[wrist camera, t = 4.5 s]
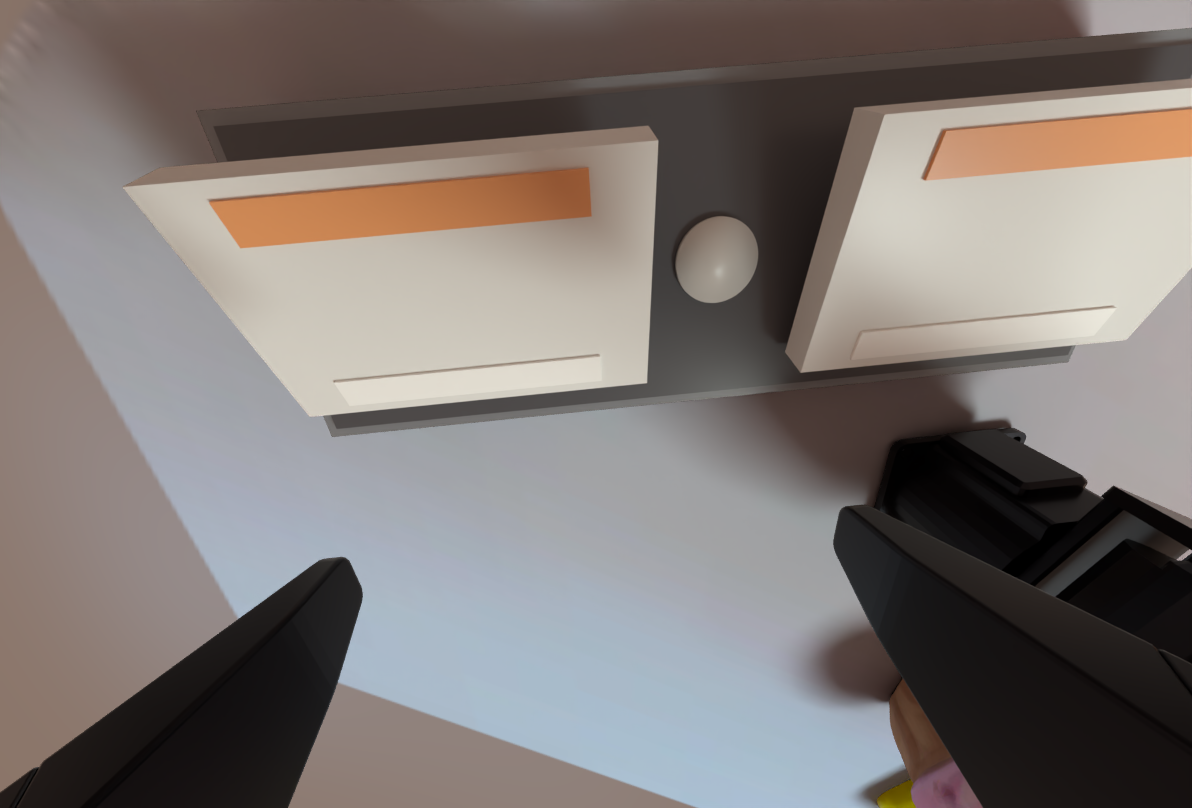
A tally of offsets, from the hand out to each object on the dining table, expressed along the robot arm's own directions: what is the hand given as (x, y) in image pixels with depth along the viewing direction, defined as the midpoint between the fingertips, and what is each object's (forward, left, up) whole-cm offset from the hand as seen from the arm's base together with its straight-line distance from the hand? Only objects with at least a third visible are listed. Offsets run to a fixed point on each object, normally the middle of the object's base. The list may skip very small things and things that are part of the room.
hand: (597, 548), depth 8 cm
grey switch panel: (+4, -5, -11) cm, 13 cm away
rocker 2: (+4, -13, -6) cm, 15 cm away
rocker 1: (+4, +3, -6) cm, 8 cm away
